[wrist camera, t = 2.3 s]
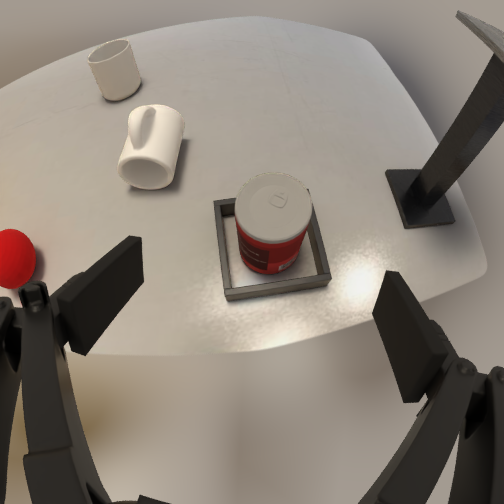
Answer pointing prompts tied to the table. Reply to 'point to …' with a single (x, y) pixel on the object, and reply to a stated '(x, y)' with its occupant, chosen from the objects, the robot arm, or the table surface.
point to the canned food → (272, 221)
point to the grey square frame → (271, 288)
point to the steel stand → (454, 141)
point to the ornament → (15, 259)
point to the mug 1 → (115, 69)
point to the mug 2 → (151, 147)
